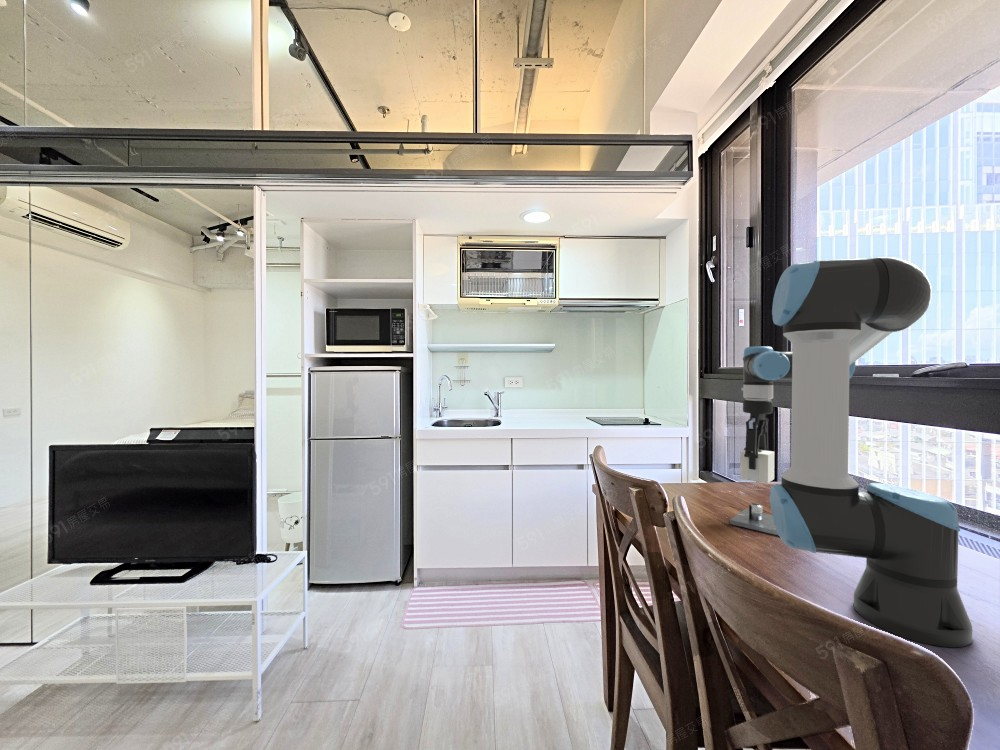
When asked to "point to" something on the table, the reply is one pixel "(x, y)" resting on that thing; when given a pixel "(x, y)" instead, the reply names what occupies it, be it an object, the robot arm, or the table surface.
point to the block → (764, 465)
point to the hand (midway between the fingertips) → (756, 477)
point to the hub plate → (755, 519)
